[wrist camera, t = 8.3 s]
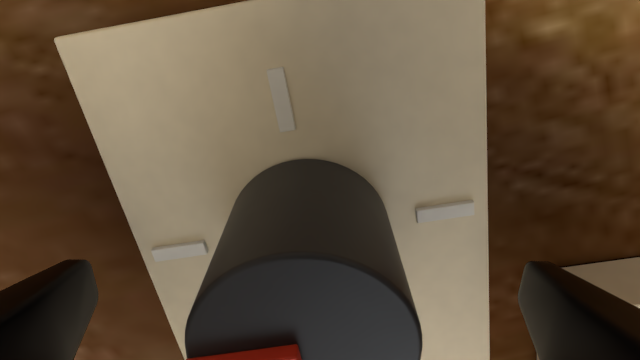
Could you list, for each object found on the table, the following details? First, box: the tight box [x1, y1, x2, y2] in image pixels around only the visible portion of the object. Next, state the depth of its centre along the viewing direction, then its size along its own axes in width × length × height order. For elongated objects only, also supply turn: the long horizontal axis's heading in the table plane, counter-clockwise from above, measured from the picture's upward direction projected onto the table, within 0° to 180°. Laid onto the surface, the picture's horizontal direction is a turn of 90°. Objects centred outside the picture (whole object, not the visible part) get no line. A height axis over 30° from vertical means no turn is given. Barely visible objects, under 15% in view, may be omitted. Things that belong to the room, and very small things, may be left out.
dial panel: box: [54, 0, 490, 360], centre depth 12 cm, size 11×9×3 cm
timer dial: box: [185, 159, 423, 360], centre depth 9 cm, size 4×4×4 cm
